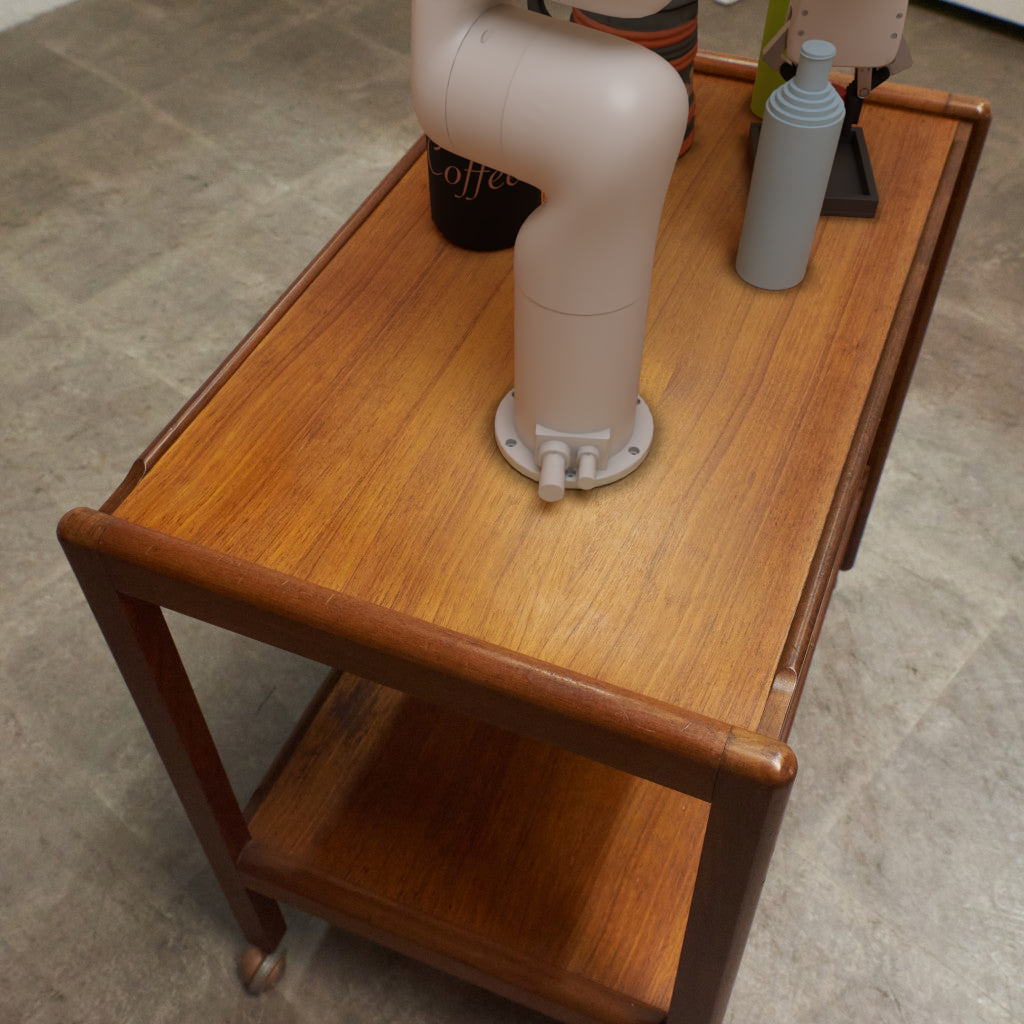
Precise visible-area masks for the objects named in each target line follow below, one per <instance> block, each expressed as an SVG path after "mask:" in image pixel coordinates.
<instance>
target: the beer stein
mask: <svg viewBox="0 0 1024 1024" xmlns="http://www.w3.org/2000/svg"><path fill="white" fill-rule="evenodd" d="M526 5H527V10H530V11H533V12H537V13H540V14H543V15H546V16H550V17H553V16H552V15H551V14H550V12H549V10H548V8H547V6H546V4H545V0H526ZM571 7H572V6H571ZM571 10H572V11H571V12H570V16H569V21H570V22H573V23H576V24H579V25H583V26H586V27H589V28H592V29H596V30H599V31H602V32H605V33H609V34H612V35H615V36H618V37H621V38H624V39H627V40H629V41H632V42H634V43H637V44H640V45H642V46H643V47H645V48H647V49H649V50H651V51H653V52H655V53H656V54H658V55H659V56H661V57H662V58H664V59H665V60H666V61H667V62H668V63H669V64H670V65H671V66H672V67H674V69H675V70H676V71H677V72H678V74H679V75H680V77H681V79H682V80H683V83H684V85H685V87H686V91H687V95H688V102H689V113H688V120H687V127H686V131H685V135H684V139H683V142H682V146H681V149H680V152H679V155H678V158H677V160H678V159H679V158H681V157H682V156H683V155H684V154H686V152H687V151H688V150H689V149H690V147H692V144H693V141H694V138H695V120H696V115H695V114H696V107H697V96H696V93H695V91H694V67H695V65H694V64H695V63H694V60H695V58H696V56H697V54H698V51H699V50H698V49H699V47H698V46H699V45H698V44H699V37H698V35H699V32H698V29H699V28H698V27H699V26H698V25H699V24H698V18H699V17H698V15H699V0H671V1H670V2H669V4H668V5H666V6H665V7H664V8H662V9H661V10H660V11H658V12H657V13H655V14H651V15H648V16H645V17H641V18H620V17H613V16H607V15H603V14H599V13H594V12H590V11H587V10H583V9H579V8H576V7H572V9H571Z"/></svg>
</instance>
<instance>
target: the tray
mask: <svg viewBox="0 0 1024 1024" xmlns="http://www.w3.org/2000/svg"><path fill="white" fill-rule="evenodd" d="M761 127H762V122H756V121H755V122H754V121H751V122H750V124H749V130H748V134H747V135H748V136H747V146H748V157H749V158H748V159H749V167H750V176H751V177H750V178H752V174H753V169H754V164H755V159H756V153H757V148H758V143H759V137H760V132H761ZM879 203H880V197H879V193H878V189H877V184H876V180H875V176H874V172H873V167H872V163H871V159H870V155H869V150H868V146H867V142H866V138H865V134H864V129H863V126H852V127H851V131H850V135H849V137H843V135H841V133H840V137H839V141H838V145H837V149H836V153H835V157H834V161H833V165H832V169H831V172H830V176H829V180H828V184H827V188H826V192H825V196H824V200H823V204H822V208H821V212H820V216H826V217H827V216H828V217H849V218H866V219H867V218H869V219H875V216H876V213H877V209H878V207H879Z"/></svg>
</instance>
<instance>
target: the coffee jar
mask: <svg viewBox="0 0 1024 1024" xmlns="http://www.w3.org/2000/svg"><path fill="white" fill-rule="evenodd" d="M425 144H426V161H427V173H428V175H427V176H428V189H429V202H430V216H431V220H432V222H433V224H434V226H435V228H436V229H437V231H438V233H440V234H441V235H442V237H443V238H444V239H446V240H447V241H448V242H449V243H450V244H452V245H453V246H456V247H459V248H461V249H464V250H467V251H474V252H479V253H480V252H482V253H483V252H498V251H502V250H508V249H510V248H513V247H515V242H516V238H517V235H518V233H519V230H520V228H521V226H522V225H523V223H524V222H525V220H526V219H527V218H528V217H529V215H530V214H531V213H532V212H533V211H534V210H535V209H536V208H538V207H539V206H540V205H541V204H542V193H543V192H542V191H541V190H540V189H538V188H537V187H535V186H533V185H531V184H529V183H526V182H524V181H521V180H518V179H517V178H515V177H514V176H511V175H508V174H506V173H503V172H500V171H498V170H495V169H493V168H490V167H487V166H485V165H482V164H479V163H477V162H474V161H471V160H469V159H467V158H464V157H462V156H459V155H457V154H454V153H452V152H450V151H448V150H446V149H444V148H442V147H440V146H439V145H437V144H436V143H435V142H433V141H432V140H431V139H430V138H429V137H428V136H427V135H426V134H425Z"/></svg>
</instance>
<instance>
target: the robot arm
mask: <svg viewBox="0 0 1024 1024" xmlns="http://www.w3.org/2000/svg"><path fill="white" fill-rule="evenodd" d="M550 1H551V2H555V3H558V4H561V5H565V6H569V7H576V8H579V9H583V10H587V11H590V12H594V13H599V14H603V15H607V16H613V17H620V18H641V17H645V16H648V15H651V14H655V13H657V12H658V11H660V10H661V9H662V8H664V7H665V6H666V5H668V4H669V2H670V1H671V0H550ZM908 5H909V0H790V4H789V8H788V12H787V16H786V20H785V25H784V26H783V27H782V28H781V29H780V30H779V32H778V33H777V34H776V35H775V36H774V37H773V39H772V40H771V41H770V42H769V43H768V44H767V45H766V47H765V48H764V49H763V50H762V59H763V62H764V63H766V64H767V65H768V66H770V67H771V68H772V69H774V70H775V71H777V72H779V73H780V75H781V76H782V77H783V79H784V80H785V81H786V82H787V81H789V80H791V79H792V78H793V77H794V76H796V72H797V67H798V62H799V57H800V48H801V47H802V45H803V43H804V42H806V41H809V40H823V41H827V42H830V43H831V44H833V45H834V46H835V48H836V54H835V56H834V59H833V63H832V68H854V70H853V71H854V73H853V80H851V82H848V85H846V87H845V89H846V91H847V95H846V99H845V100H846V102H845V117H844V121H843V125H842V129H841V135H843V137H849V135H850V131H851V127H853V125H858V124H859V120H860V116H861V113H862V109H863V105H864V102H865V101H864V100H865V99H867V98H868V97H870V95H871V92H872V91H873V90H875V89H877V88H878V87H879V86H880V85H881V84H883V83H884V82H886V81H887V80H889V78H890V77H891V76H895V75H898V74H900V73H901V72H903V71H905V70H907V69H910V68H911V67H912V66H913V63H914V62H913V57H912V54H911V52H910V48H909V47H908V44H907V41H906V38H905V36H904V34H903V32H904V27H905V22H906V17H907V11H908ZM410 18H411V20H410V21H411V22H410V23H411V24H410V87H411V88H410V90H411V97H412V98H411V99H412V104H413V109H414V113H415V116H416V118H417V121H418V123H419V126H420V127H421V130H422V131H423V132H424V134H425V136H426V135H427V136H428V137H429V138H430V139H431V140H432V141H433V142H435V143H436V144H437V145H439V146H440V147H442V148H444V149H446V150H448V151H450V152H452V153H454V154H457V155H459V156H462V157H464V158H467V159H469V160H471V161H474V162H477V163H479V164H482V165H485V166H487V167H490V168H493V169H495V170H498V171H500V172H503V173H506V174H508V175H511V176H514V177H515V178H517V179H518V180H521V181H524V182H526V183H529V184H531V185H533V186H535V187H537V188H538V189H540V190H541V191H542V192H541V193H543V194H544V197H545V198H546V199H545V201H544V202H541V205H540V206H539V207H538V208H536V209H535V210H534V211H533V212H532V213H531V214H530V215H529V217H528V218H527V219H526V220H525V222H524V223H523V225H522V226H521V228H520V230H519V233H518V235H517V238H516V242H515V246H514V248H513V308H514V309H513V366H514V367H513V368H514V369H513V371H514V372H513V387H512V388H511V389H510V390H509V391H508V392H507V393H506V394H505V396H504V397H503V398H502V400H501V401H500V403H499V405H498V407H497V410H496V412H495V418H494V437H495V441H496V444H497V447H498V449H499V451H500V453H501V455H502V457H503V458H504V459H505V461H507V463H508V464H509V465H510V466H511V467H512V468H514V469H515V470H516V471H518V472H519V473H521V475H524V476H525V477H527V478H529V479H532V480H533V481H535V482H538V491H537V494H538V495H537V496H539V498H540V499H541V500H543V501H545V502H550V503H554V502H559V501H560V500H563V498H564V496H565V491H566V489H579V490H580V489H581V490H584V491H587V490H592V489H594V488H597V487H601V486H605V485H609V484H612V483H614V482H617V481H619V480H621V479H623V478H625V477H627V476H628V475H630V474H631V473H632V472H634V471H635V470H636V469H637V468H638V467H639V466H641V464H642V463H644V461H645V459H646V457H647V456H648V454H649V453H650V451H651V447H652V443H653V441H654V440H653V439H654V432H655V431H654V430H655V426H654V425H655V424H654V418H653V414H652V412H651V410H650V407H649V405H648V404H647V403H646V401H645V399H644V398H643V397H642V396H641V395H640V394H639V389H640V382H641V372H642V364H643V356H644V347H645V339H646V331H647V324H648V323H647V322H648V313H649V305H650V298H651V289H652V281H653V272H654V263H655V262H654V261H655V255H656V249H657V248H656V247H657V241H658V233H659V228H660V224H661V218H662V214H663V209H664V205H665V201H666V197H667V193H668V190H669V186H670V184H671V180H672V176H673V174H674V170H675V167H676V164H677V161H678V159H679V158H678V155H679V152H680V149H681V146H682V142H683V139H684V135H685V131H686V127H687V120H688V113H689V102H688V95H687V91H686V87H685V85H684V83H683V80H682V79H681V77H680V75H679V74H678V72H677V71H676V70H675V69H674V67H672V66H671V65H670V64H669V63H668V62H667V61H666V60H665V59H664V58H662V57H661V56H659V55H658V54H656V53H655V52H653V51H651V50H649V49H647V48H645V47H643V46H642V45H640V44H637V43H634V42H632V41H629V40H627V39H624V38H621V37H618V36H615V35H612V34H609V33H605V32H602V31H599V30H596V29H592V28H589V27H586V26H583V25H579V24H576V23H573V22H570V20H563V19H559V18H556V17H553V16H552V17H550V16H546V15H543V14H540V13H537V12H533V11H530V10H528V8H524V7H520V6H519V0H411V16H410ZM786 48H787V52H786V54H787V57H785V56H784V55H783V54H782V53H783V51H784V50H785V49H786ZM794 63H795V64H796V65H795V64H794ZM677 158H678V159H677Z"/></svg>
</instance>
